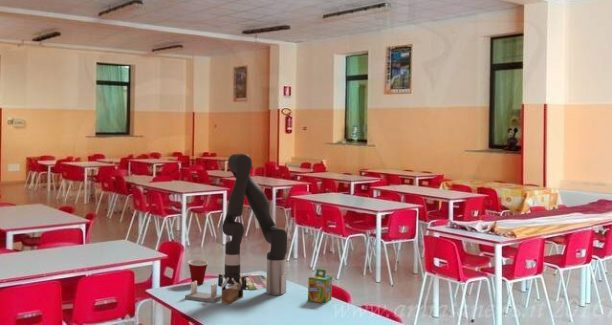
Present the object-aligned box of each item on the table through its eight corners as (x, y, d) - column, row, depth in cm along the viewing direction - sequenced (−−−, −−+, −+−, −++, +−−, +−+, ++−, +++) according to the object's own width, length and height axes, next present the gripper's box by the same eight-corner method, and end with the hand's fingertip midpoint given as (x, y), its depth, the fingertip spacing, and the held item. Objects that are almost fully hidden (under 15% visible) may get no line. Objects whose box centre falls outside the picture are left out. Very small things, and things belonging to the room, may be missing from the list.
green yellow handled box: (307, 301, 288) (307, 270, 288) (314, 296, 297) (315, 267, 296) (325, 303, 285) (325, 272, 284) (332, 299, 293) (332, 269, 293)
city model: (246, 297, 301) (247, 286, 301) (220, 282, 318) (221, 271, 318) (284, 290, 318) (285, 279, 317) (257, 276, 335) (258, 266, 334)
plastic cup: (201, 287, 310) (202, 264, 310) (183, 285, 314) (183, 262, 314) (212, 282, 321) (212, 260, 320) (194, 280, 324) (194, 258, 324)
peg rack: (222, 298, 291) (222, 282, 291) (214, 302, 284) (214, 286, 284) (194, 294, 297) (194, 279, 297) (185, 298, 290) (185, 283, 290)
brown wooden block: (243, 297, 293) (243, 285, 293) (229, 304, 281) (230, 292, 281) (234, 296, 295) (234, 284, 295) (221, 303, 283) (221, 291, 283)
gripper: (249, 263, 288) (248, 296, 289) (223, 260, 294) (222, 292, 294) (242, 266, 281) (241, 300, 282) (215, 263, 287) (215, 296, 287)
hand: (232, 296), depth 288 cm, fingers open, 8 cm apart
